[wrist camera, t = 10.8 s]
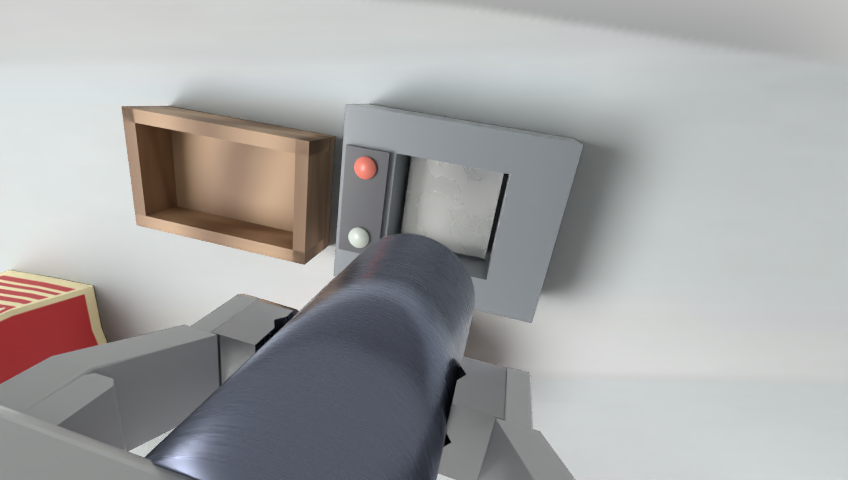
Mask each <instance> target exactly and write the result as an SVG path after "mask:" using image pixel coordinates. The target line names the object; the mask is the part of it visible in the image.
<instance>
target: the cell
mask: <svg viewBox="0 0 848 480" xmlns="http://www.w3.org/2000/svg"><path fill="white" fill-rule="evenodd" d="M474 306H475V291H474V286H473V282H472V279H471V277H470V274H469V272H468V270H467V269H466V267H465V265H464V264H463V262H462V261H461V260H460V259H459V257H458V256H457V255H456V254H455V253H453V252H452V251H451V250H450V249H449V248H447V247H446V246H445V245H443V244H441V243H440V242H438V241H436V240H434V239H431V238H429V237H426V236H422V235H417V234H409V233H401V234H393V235H389V236H386V237H383V238H380V239H378V240H377V241H375V242H373V243H372V244H370V245H369V246H368V247H367V248H366V249H365V250H364V251H362V252H361V253H360V254H359V255H358V256H357V257H356V258H355V259H354V260H353V261H352V262H351V263H350V264H349V265H348V266H347V267H346V268H344V269H343V270H342V271H341V272H340V273H339V274H338V275H337V276H336V277H335V278H334V279H333V280H332V281H331V282H330V283H329V284H328V285H326V286H325V287H324V288H323V289H322V290H321V291H320V292H319V293H318V294H317V295H316V296H315V297H314V298H313V299H312V300H311V301H310V302H309V303H307V304H306V305H305V306H304V307H303V308H302V309H301V310H300V311H299V312H298V313H297V314H296V315H295V316H294V317H293V318H292V319H291V320H289V321H288V322H287V323H286V324H285V325H284V326H283V327H282V328H281V329H280V330H279V331H278V332H277V333H276V334H275V335H274V336H273V337H271V338H270V339H269V340H268V341H267V342H266V343H265V344H264V345H263V346H262V347H261V348H260V349H259V350H258V351H257V352H256V353H255V354H254V355H252V356H251V357H250V358H249V359H248V360H247V361H246V362H245V363H244V364H243V365H242V366H241V367H240V368H239V369H238V370H237V371H236V372H234V373H233V374H232V375H231V376H230V377H229V378H228V379H227V380H226V381H225V382H224V383H223V384H222V385H221V386H220V387H219V388H218V389H216V390H215V391H214V392H213V393H212V394H211V395H210V396H209V397H208V398H207V399H206V400H205V401H204V402H203V403H202V404H201V405H200V406H199V407H197V408H196V409H195V410H194V411H193V412H192V413H191V414H190V415H189V416H188V417H187V418H186V419H185V420H184V421H183V422H182V423H181V424H179V425H178V426H177V427H176V428H175V429H174V430H173V431H172V432H171V433H170V434H169V435H168V436H167V437H166V438H165V439H164V440H163V441H162V442H160V443H159V444H158V445H157V446H156V447H155V448H154V449H153V450H152V451H151V452H150V453H149V454H148V455H147V456H146V457H145V458H147V459H149V460H151V461H152V463H153V464H154V465H156V466H159V467H162V468H164V469H167V470H170V471H172V472H175V473H178V474H181V475H183V476H186V477H189V478H191V479H194V480H436V479H437V474H438V470H439V465H440V461H441V456H442V452H443V447H444V443H445V438H446V434H447V433H446V430H447V421H448V417H449V412H450V408H451V403H452V399H453V395H454V391H455V387H456V381H457V377H458V373H459V369H460V364H461V360H462V356H464V352H465V348H466V343H467V339H468V334H469V330H470V325H471V321H472V316H473V312H474Z"/></svg>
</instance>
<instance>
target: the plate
mask: <svg viewBox="0 0 848 480" xmlns="http://www.w3.org/2000/svg"><path fill="white" fill-rule="evenodd" d="M503 175H504V173H500V172H495V171H490V170H484V169H479V168H473V167H468V166H463V165H457V164H452V163H446V162H441V161H436V160H430V159H425V158H419V157H414V156H411V163H410V170H409V178H408V185H407V193H406V200H405V208H404V215H403V222H402V230H401V233H409V234H417V235H422V236H426V237H429V238H431V239H434V240H436V241H438V242H440V243H441V244H443V245H445V246H446V247H447V248H449V249H450V250H451V251H452V252H456V253H461V254H466V255H470V256H475V257H479V258H484V259H485V256H486V251H487V247H488V242H489V238H490V233H491V229H492V224H493V220H494V215H495V211H496V207H497V202H498V198H499V193H500V189H501V184H502V180H503Z"/></svg>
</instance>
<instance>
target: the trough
mask: <svg viewBox="0 0 848 480" xmlns="http://www.w3.org/2000/svg"><path fill="white" fill-rule="evenodd" d="M122 114H123V121H124V129H125V137H126V145H127V153H128V161H129V168H130V176H131V184H132V192H133V200H134V208H135V215H136V223H137V225H139V226H143V227H147V228H151V229H156V230H160V231H164V232H168V233H173V234H177V235H181V236H185V237H190V238H194V239H198V240H202V241H207V242H211V243H215V244H219V245H224V246H228V247H232V248H236V249H240V250H245V251H249V252H253V253H257V254H262V255H266V256H270V257H274V258H279V259H283V260H287V261H291V262H296V263H300V264H306V263H307V262H308V261H309V260H311V259H312V258H313V257H315V256H316V255H317V254H318V253H320V252H321V251H322V250H323V249H325V248H326V247H327V246H328V241H329V225H330V209H331V193H332V177H333V161H334V145H335V136H330V135H324V134H319V133H313V132H308V131H302V130H297V129H292V128H286V127H281V126H275V125H270V124H264V123H259V122H253V121H248V120H242V119H237V118H231V117H226V116H220V115H215V114H209V113H204V112H198V111H193V110H188V109H182V108H177V107H171V106H122Z"/></svg>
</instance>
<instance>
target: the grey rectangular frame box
mask: <svg viewBox="0 0 848 480" xmlns="http://www.w3.org/2000/svg"><path fill="white" fill-rule="evenodd" d="M583 145H584V144H582V143H580V142H578V141H577V140H575V139H573V138H568V137H562V136H556V135H550V134H544V133H538V132H532V131H526V130H520V129H515V128H509V127H503V126H497V125H491V124H485V123H479V122H473V121H467V120H461V119H455V118H449V117H443V116H437V115H431V114H425V113H419V112H413V111H407V110H401V109H395V108H389V107H383V106H377V105H371V104H346V107H345V122H344V136H343V150H342V164H341V179H340V193H339V207H338V221H337V235H336V250H335V264H334V276H337V275H338V274H339V273H340V272H341V271H342V270H343V269H344V268H346V267H347V266H348V265H349V264H350V263H351V262H352V261H353V260H354V259H355V258H356V257H357V256H358V255H359V254H360V253H361V252H362V251H364V250H365V249H366V248H367V247H368V246H369V245H370V244H372V243H373V242H375V241H377V240H378V239H380V238H383V237H386V236H389V235H393V234H401V226H402V219H403V211H404V204H405V196H406V189H407V182H408V174H409V167H410V159H411V156H414V157H419V158H425V159H430V160H436V161H441V162H446V163H452V164H457V165H463V166H468V167H473V168H479V169H484V170H490V171H495V172H500V173H506V174H509V175H508V179H507V183H506V188H505V192H504V196H503V201H502V205H501V210H500V214H499V218H498V223H497V227H496V232H495V236H494V240H493V245H492V249H491V253H490V257H487V256H485V259H484V258H479V257H475V256H470V255H466V254H461V253H456V252H453V253H455V254H456V255H457V256H458V257H459V259H460V260H461V261H462V262H463V264H464V265H465V267H466V269H467V270H468V272H469V274H470V277H471V279H472V282H473V286H474V291H475V306H474V309H475V310H479V311H483V312H487V313H491V314H496V315H500V316H504V317H508V318H512V319H517V320H521V321H525V322H529V323H532V321H533V317H534V314H535V310H536V307H537V304H538V300H539V297H540V293H541V290H542V286H543V283H544V279H545V276H546V273H547V269H548V266H549V262H550V259H551V255H552V252H553V249H554V245H555V242H556V238H557V235H558V231H559V228H560V224H561V221H562V218H563V214H564V211H565V207H566V204H567V200H568V197H569V193H570V190H571V187H572V183H573V180H574V176H575V173H576V169H577V166H578V162H579V159H580V156H581V152H582V149H583Z"/></svg>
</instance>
